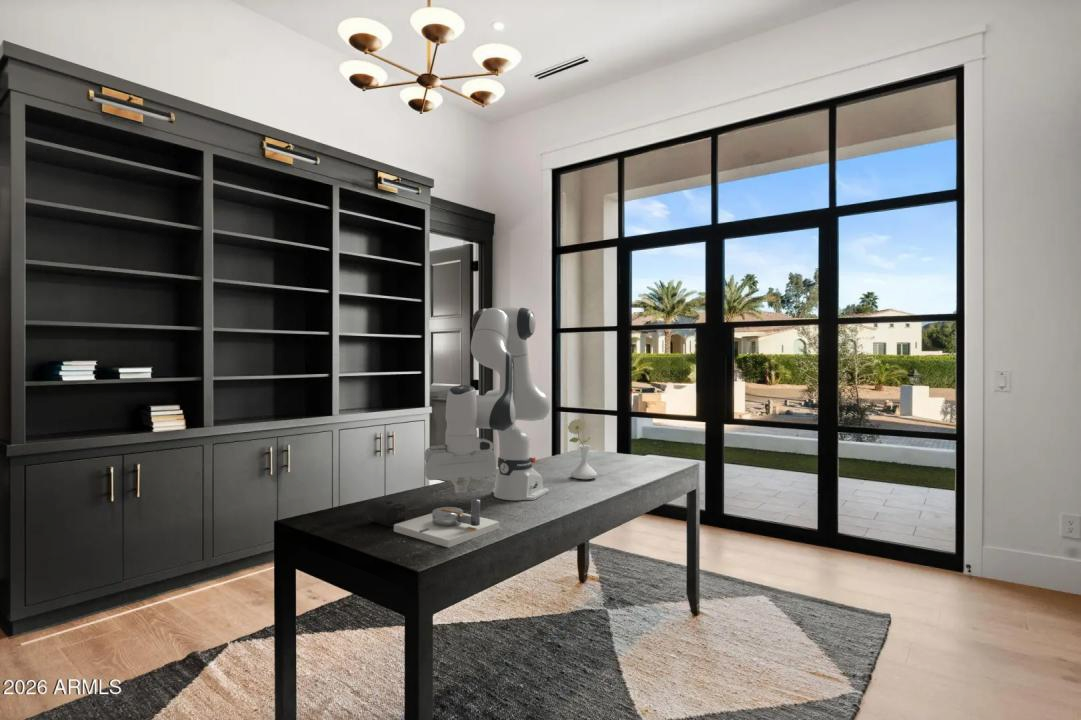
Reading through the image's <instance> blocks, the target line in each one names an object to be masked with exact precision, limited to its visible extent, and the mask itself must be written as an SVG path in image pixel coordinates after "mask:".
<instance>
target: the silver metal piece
mask: <svg viewBox="0 0 1081 720" xmlns="http://www.w3.org/2000/svg"><path fill="white" fill-rule="evenodd" d="M470 500H471V502H470V503H471V504H470V509H471V510H470V515H471V516H466V515H463V513H464V510H463V509H462V508H459V507H455V506H443V507H437V508H434V509H432V512H431V513H432V522H433V523H434V524H436V525H441V526H452V525H458V524H460V523H465V524H470V525H472V526H478V525H480V517H481V499H480V498H472V499H470Z"/></svg>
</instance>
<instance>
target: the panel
mask: <svg viewBox="0 0 1081 720" xmlns="http://www.w3.org/2000/svg"><path fill="white" fill-rule="evenodd" d="M463 515H466V516H471V513H470V514H469V513H467V512H466V513H465V512H463ZM499 529H500V521H498V520H494V519H490V518H486V517H481V516H480V525H478V526H472V525H470V524H465V523H460V524H458V525H452V526H441V525H436V524H434V523H433V522H432V512H431V513H428V514H425V515H422V516H421V515H420V516H417V517H414V518H411V519H408V520H404V521H401V523H398V524H394V528H393V532H395V533H397V534H401V535H405V536H409V537H411V538H415V539H417V540H418V539H419V540H421V541H425V542H429V543H431V544H435V545H439V546H442V547H444V548H448V549H449V548H452V547H454V546H458V544H459V545H460V544H463V543H465V542H467V541H469V540H473V539H475V538H478V537H481V536H483V535H485V534H488V533H491V532H493V531H495V530H499Z"/></svg>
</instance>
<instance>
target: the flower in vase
mask: <svg viewBox="0 0 1081 720" xmlns="http://www.w3.org/2000/svg"><path fill="white" fill-rule="evenodd" d="M586 429H587V426H586V422H585V421H584V420H582V419H579V418H577V419H573V420H571V421H570V422H569V423H568V425H567V430H568V433H571V434H573V435H577V436H578V437H575V436H574V437H572V438H570V439H569V442H571V443H577V442H580V443H581V444H579V445H578V448H579V450H580V453H581V459H580V463H579V464H578V465H577V466H576V467H575V468H573V469H572V470H571V471H570V473H569V474H570V476H571V477H572V478H574V479H579V480H590V479H591V480H593V479H594V478H596V477H597V476H598V474H597V472H596V471H595V469H594V468H593V467H592V466H590V465H589V464H588V461H587V460H588V459H587V458H588V451H589V449H590V448H591V445H589V444H585V443H587V442H589V441H590V439H591V436H590V437H588V438H584V439H583V440H581V438H580V434H581V433H583V432H584V431H585V430H586Z"/></svg>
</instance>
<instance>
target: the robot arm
mask: <svg viewBox="0 0 1081 720" xmlns="http://www.w3.org/2000/svg"><path fill="white" fill-rule="evenodd" d="M471 329H472V338H471V341H470V352H471V355H472V357H473V358H474V360H476V361H477V362H478V363H479V364H480V365H482V366H483V367H486V368H488V369H491V370H493V371H495V372H497V373H498V375H499V389H491V390H488V391H486V393H485V394H484V395H479V394H477V393H476V389H475V387H474V386H472V385H467V384H465V385H462V384H461V385H455V386H452V387H451V388H449V389H448V392H447V397H446V402H445V403H446V404H445V421H446V429H445V438H444V440H445V444H441V445H439V444H438V445H430V446H429V447H428V448H426V450H425V452H424V460H425V464H424V465H425V467H424V476H425V478H426V479H427V480H429V481H436V480H437V481H438V480H447V479H450V481H451V483H452V484H453V486H454V493H455V494H461V493H467V489H468V485H469V483H470V482H471V477H477V476H478V477H479V476H486V475H494V474H495V473H496V475H495V481H494V482H495V483H494V488H493V489H492V493H493V496H494V498H497V499H500V500H504V501H535V500H537V499H539V498H541V497H542V496H544V495H546V494H548V493H550V489H549V488H547V487H545V486H544V484H543V483H544V481H543V477H542V475H541V473H539V472H538V471H536V469H535V468H534V467H533V464H536V462H537V459H536V457H534V456H531V457H530V444H531V443H530V440H531V439H530V437H529V435H528V433H527V432H525V431H524V430H522V429H521V428H520V426H518V424H517V421H527V422H534V421H542V420H544V419H545V418H546V417H547V416H548V415H549V413H550V409H551V404H550V400H549V397H548V395H547V394H545V393H544V392H543V391H542V390H541V389H540V388H539V387H538V386H537V384H536V383H535V382H534V380H533V378H532V375H531V372H530V362H529V351H528V349H529V347H528V338H530V337H532V336H533V335H534V332H535V329H536V318H535V314H534V312H533V311H532V310H531V309H530V308H526V307H520V308H519V307H512V306H511V307H509V306H503V307H490V308H481V309H480V308H479V309H477V310H476V311H474V313H473V316H472V319H471ZM477 429H487V430H488V429H490V430H494V431H497V434H498V444H499V445H498V447H499V448H498V449H499V451H498V453H499V454H498V458H496V453H495V451H493V449H494V443H493V442H492V441H490V440H488V439H486V438H482V437H479V436H478V430H477ZM496 459H497V460H496ZM532 463H533V464H532ZM497 468H498V469H497ZM459 478H463V479H464V481H463V483H462V484H458V483H457V482H458V481H459Z"/></svg>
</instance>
